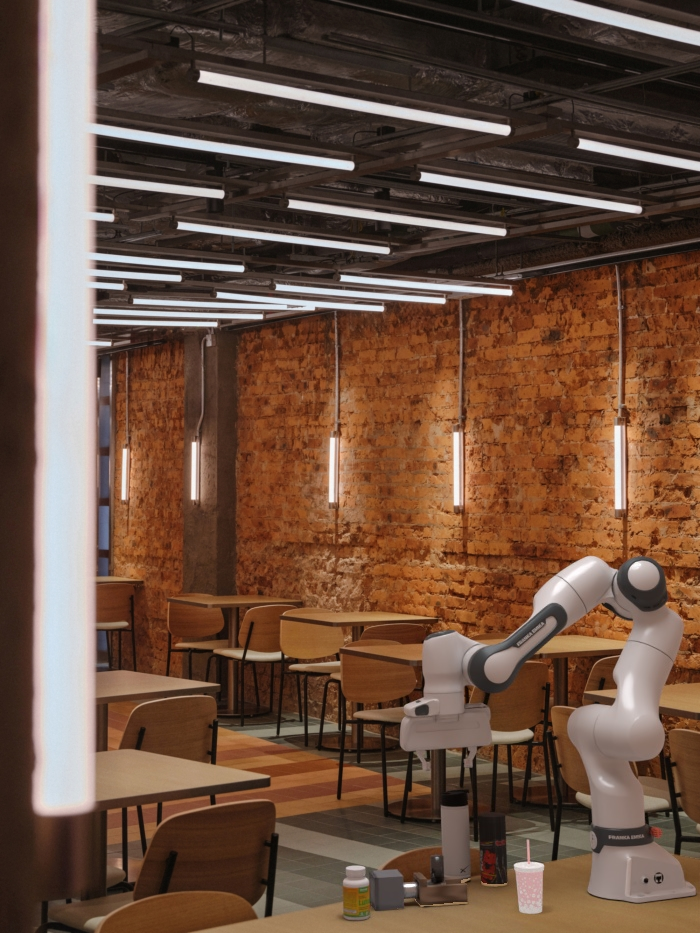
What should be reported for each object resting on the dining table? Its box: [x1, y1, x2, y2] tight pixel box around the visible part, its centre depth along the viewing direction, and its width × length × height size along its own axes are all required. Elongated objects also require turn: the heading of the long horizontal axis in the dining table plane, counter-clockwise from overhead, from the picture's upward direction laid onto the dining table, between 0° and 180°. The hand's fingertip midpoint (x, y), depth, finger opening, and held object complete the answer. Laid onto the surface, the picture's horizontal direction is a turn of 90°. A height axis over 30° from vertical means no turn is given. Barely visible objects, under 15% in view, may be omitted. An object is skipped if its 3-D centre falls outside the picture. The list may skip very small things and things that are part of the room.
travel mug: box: [440, 788, 472, 880], centre depth 272 cm, size 6×7×20 cm
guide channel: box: [412, 871, 469, 905], centre depth 253 cm, size 10×6×6 cm, turn 99°
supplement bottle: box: [342, 865, 371, 921], centre depth 243 cm, size 5×5×10 cm
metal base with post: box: [403, 854, 446, 900], centre depth 252 cm, size 14×3×8 cm, turn 99°
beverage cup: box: [513, 839, 545, 915], centre depth 245 cm, size 6×6×14 cm
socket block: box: [368, 869, 405, 912], centre depth 251 cm, size 6×6×6 cm
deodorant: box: [478, 811, 509, 884], centre depth 268 cm, size 6×6×15 cm
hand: (447, 769), depth 265 cm, fingers open, 8 cm apart
